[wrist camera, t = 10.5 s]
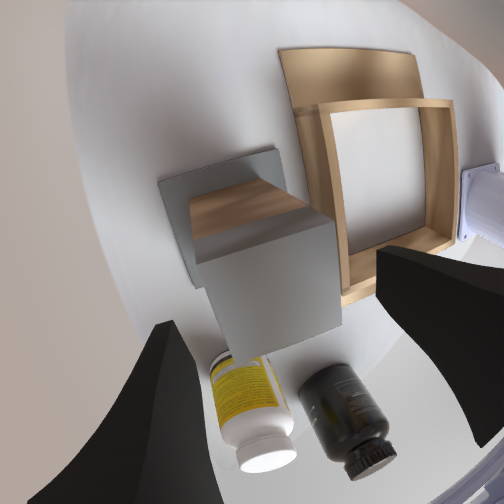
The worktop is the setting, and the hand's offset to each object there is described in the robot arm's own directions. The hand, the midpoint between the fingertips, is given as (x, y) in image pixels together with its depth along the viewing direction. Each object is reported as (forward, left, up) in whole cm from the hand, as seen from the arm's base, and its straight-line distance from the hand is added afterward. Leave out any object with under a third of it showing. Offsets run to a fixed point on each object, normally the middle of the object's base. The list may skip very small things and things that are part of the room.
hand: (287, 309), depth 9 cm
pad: (0, 0, -10) cm, 10 cm away
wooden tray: (-11, 0, -10) cm, 15 cm away
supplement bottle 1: (+3, +13, -10) cm, 17 cm away
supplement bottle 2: (-5, +21, -10) cm, 24 cm away
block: (0, 0, -10) cm, 10 cm away
